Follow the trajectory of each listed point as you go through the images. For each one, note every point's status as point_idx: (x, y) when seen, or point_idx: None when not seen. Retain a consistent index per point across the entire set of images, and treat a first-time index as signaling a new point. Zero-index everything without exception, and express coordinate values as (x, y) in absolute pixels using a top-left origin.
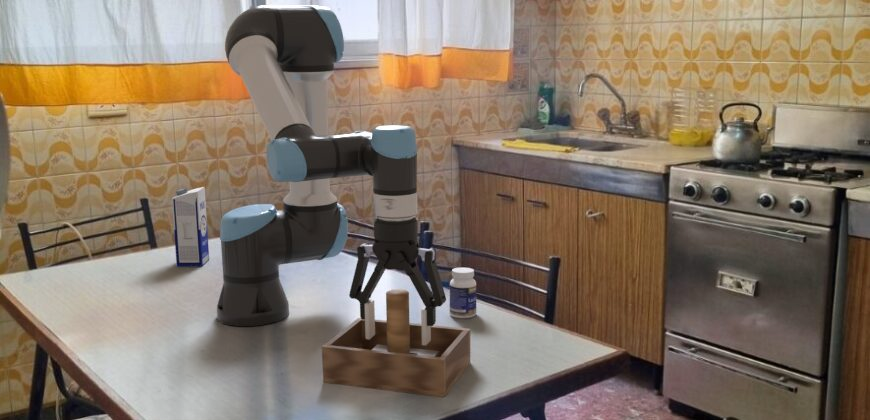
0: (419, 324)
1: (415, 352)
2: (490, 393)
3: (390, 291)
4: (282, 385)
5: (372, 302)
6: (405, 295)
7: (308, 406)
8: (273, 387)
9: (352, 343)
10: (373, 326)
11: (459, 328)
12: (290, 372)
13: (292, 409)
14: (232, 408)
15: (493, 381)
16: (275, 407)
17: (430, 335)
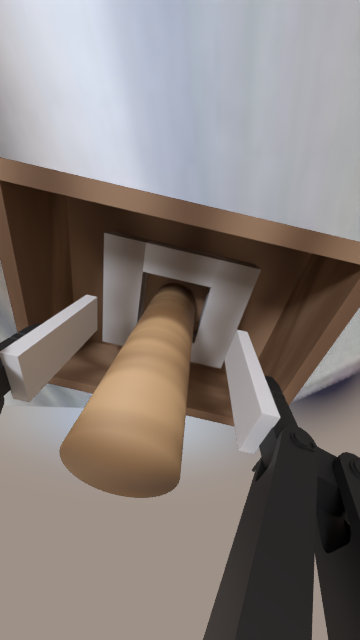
0: (212, 214)
1: (203, 281)
2: (326, 370)
3: (76, 452)
4: None
5: (26, 369)
6: (168, 488)
7: (89, 397)
8: None
9: (49, 253)
10: (83, 317)
11: (358, 250)
12: (5, 305)
13: (76, 402)
14: (16, 399)
15: (347, 330)
16: (56, 398)
17: (249, 340)
